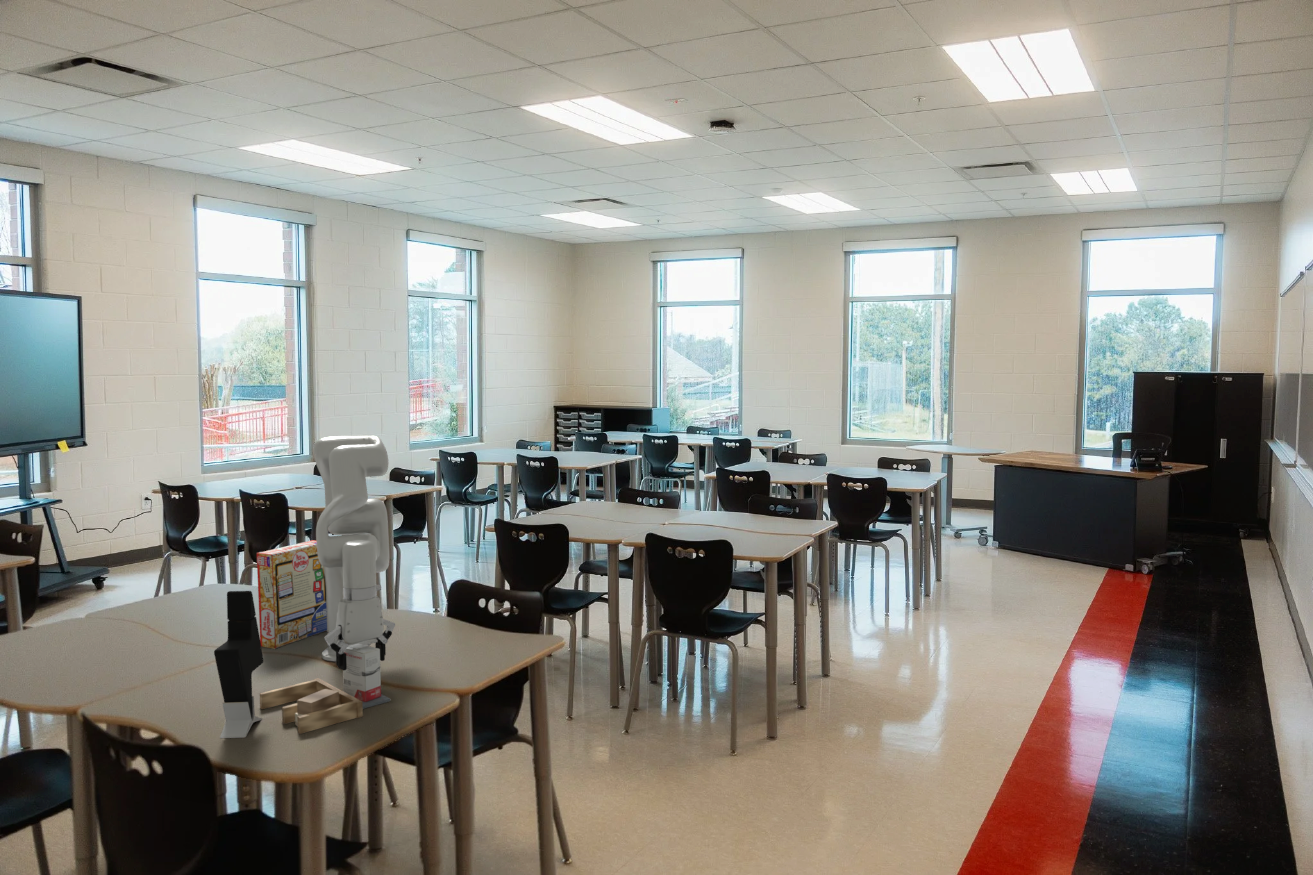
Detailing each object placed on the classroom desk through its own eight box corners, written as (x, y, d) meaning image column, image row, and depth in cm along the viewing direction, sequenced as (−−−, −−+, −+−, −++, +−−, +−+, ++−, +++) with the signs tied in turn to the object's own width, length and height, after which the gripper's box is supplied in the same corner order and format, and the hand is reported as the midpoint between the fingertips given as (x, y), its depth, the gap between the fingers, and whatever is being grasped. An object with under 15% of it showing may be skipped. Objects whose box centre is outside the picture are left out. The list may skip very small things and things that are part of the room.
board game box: (315, 628, 276) (312, 539, 274) (330, 630, 273) (328, 541, 271) (258, 646, 257) (256, 551, 255) (274, 649, 255) (271, 553, 253)
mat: (365, 688, 224) (365, 685, 224) (390, 700, 215) (390, 698, 215) (334, 696, 218) (334, 694, 218) (358, 709, 210) (358, 707, 210)
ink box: (382, 696, 216) (381, 648, 216) (365, 702, 212) (364, 653, 212) (359, 689, 221) (358, 641, 220) (342, 695, 217) (340, 646, 216)
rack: (318, 692, 221) (318, 678, 221) (362, 716, 206) (362, 701, 205) (259, 707, 211) (258, 692, 211) (301, 734, 196) (300, 718, 195)
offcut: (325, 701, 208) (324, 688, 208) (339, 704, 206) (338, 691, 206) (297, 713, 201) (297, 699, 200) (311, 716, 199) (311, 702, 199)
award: (242, 714, 207) (238, 584, 204) (266, 714, 207) (262, 583, 205) (215, 741, 192) (210, 601, 189) (241, 741, 192) (237, 600, 190)
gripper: (385, 584, 224) (386, 652, 225) (317, 596, 211) (319, 669, 213) (401, 589, 218) (402, 659, 220) (332, 602, 206) (334, 676, 207)
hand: (361, 664), depth 216 cm, fingers open, 9 cm apart
